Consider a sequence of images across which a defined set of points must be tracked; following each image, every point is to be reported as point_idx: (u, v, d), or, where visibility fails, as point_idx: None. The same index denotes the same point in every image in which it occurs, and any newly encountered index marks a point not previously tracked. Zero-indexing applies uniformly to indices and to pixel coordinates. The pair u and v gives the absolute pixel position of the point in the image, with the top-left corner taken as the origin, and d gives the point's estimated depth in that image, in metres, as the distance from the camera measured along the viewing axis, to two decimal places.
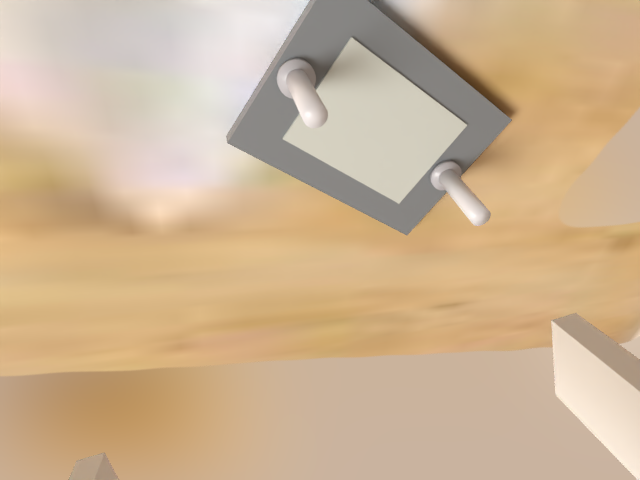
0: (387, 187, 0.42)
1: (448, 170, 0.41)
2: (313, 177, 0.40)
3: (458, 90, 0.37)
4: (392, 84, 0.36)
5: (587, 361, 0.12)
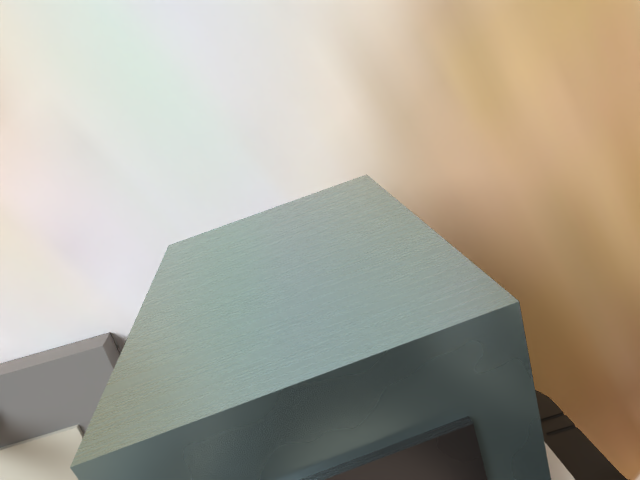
0: None
1: None
2: None
3: None
4: None
5: None
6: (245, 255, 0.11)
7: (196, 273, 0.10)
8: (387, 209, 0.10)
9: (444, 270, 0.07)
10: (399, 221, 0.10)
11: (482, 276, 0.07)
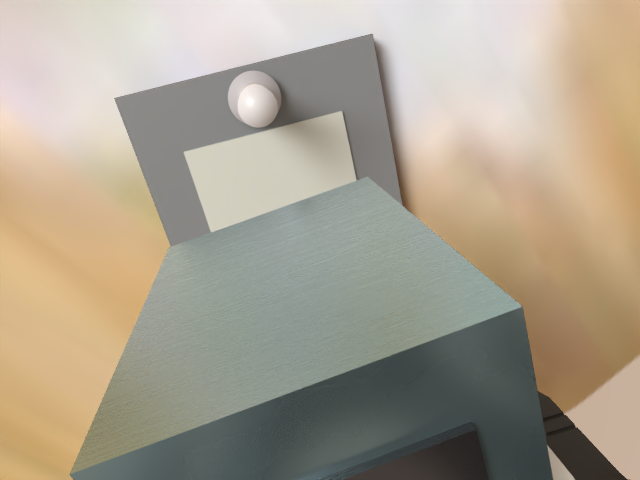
0: None
1: None
2: (179, 231, 0.27)
3: None
4: None
5: None
6: (246, 258, 0.10)
7: (196, 276, 0.10)
8: (388, 212, 0.10)
9: (446, 274, 0.07)
10: (401, 224, 0.09)
11: (484, 281, 0.07)
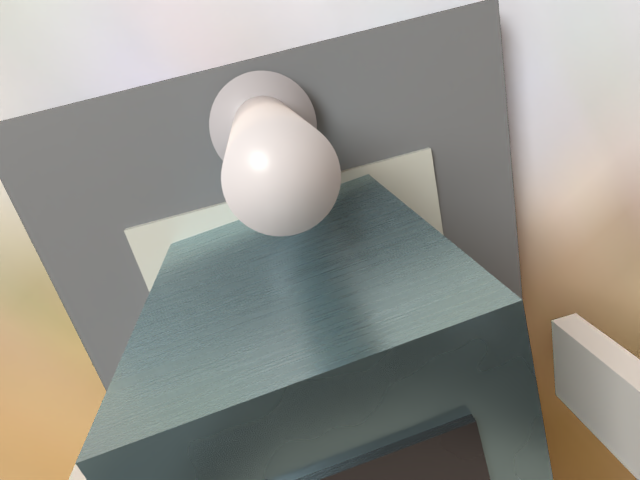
0: None
1: None
2: None
3: None
4: None
5: (587, 361, 0.12)
6: (248, 254, 0.11)
7: (198, 271, 0.11)
8: (389, 208, 0.10)
9: (447, 269, 0.07)
10: (402, 220, 0.10)
11: (485, 276, 0.07)
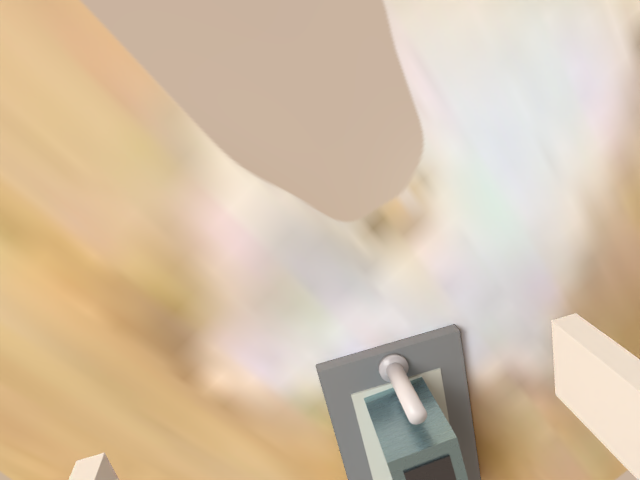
0: (379, 474, 0.48)
1: None
2: (342, 433, 0.46)
3: (467, 440, 0.49)
4: None
5: (587, 361, 0.12)
6: (395, 410, 0.42)
7: (383, 415, 0.42)
8: (430, 400, 0.42)
9: (445, 426, 0.39)
10: (434, 406, 0.41)
11: (451, 430, 0.38)
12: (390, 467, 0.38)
